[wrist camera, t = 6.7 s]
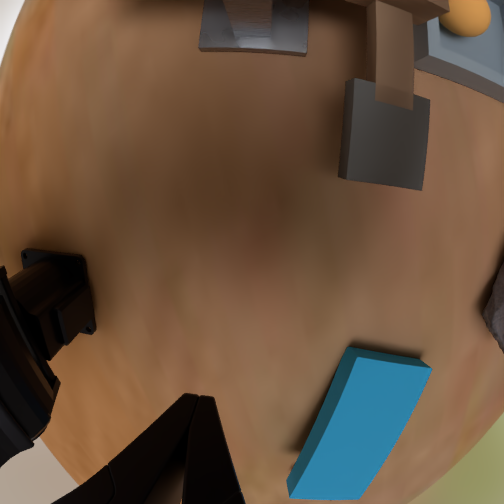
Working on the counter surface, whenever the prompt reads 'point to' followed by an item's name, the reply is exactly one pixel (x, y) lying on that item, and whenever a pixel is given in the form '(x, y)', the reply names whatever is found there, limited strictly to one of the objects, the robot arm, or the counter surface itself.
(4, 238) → the counter surface
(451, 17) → the ball
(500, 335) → the perforated stone tool
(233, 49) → the stand
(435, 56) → the bin
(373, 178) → the lever
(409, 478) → the counter surface
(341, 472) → the blue piece
